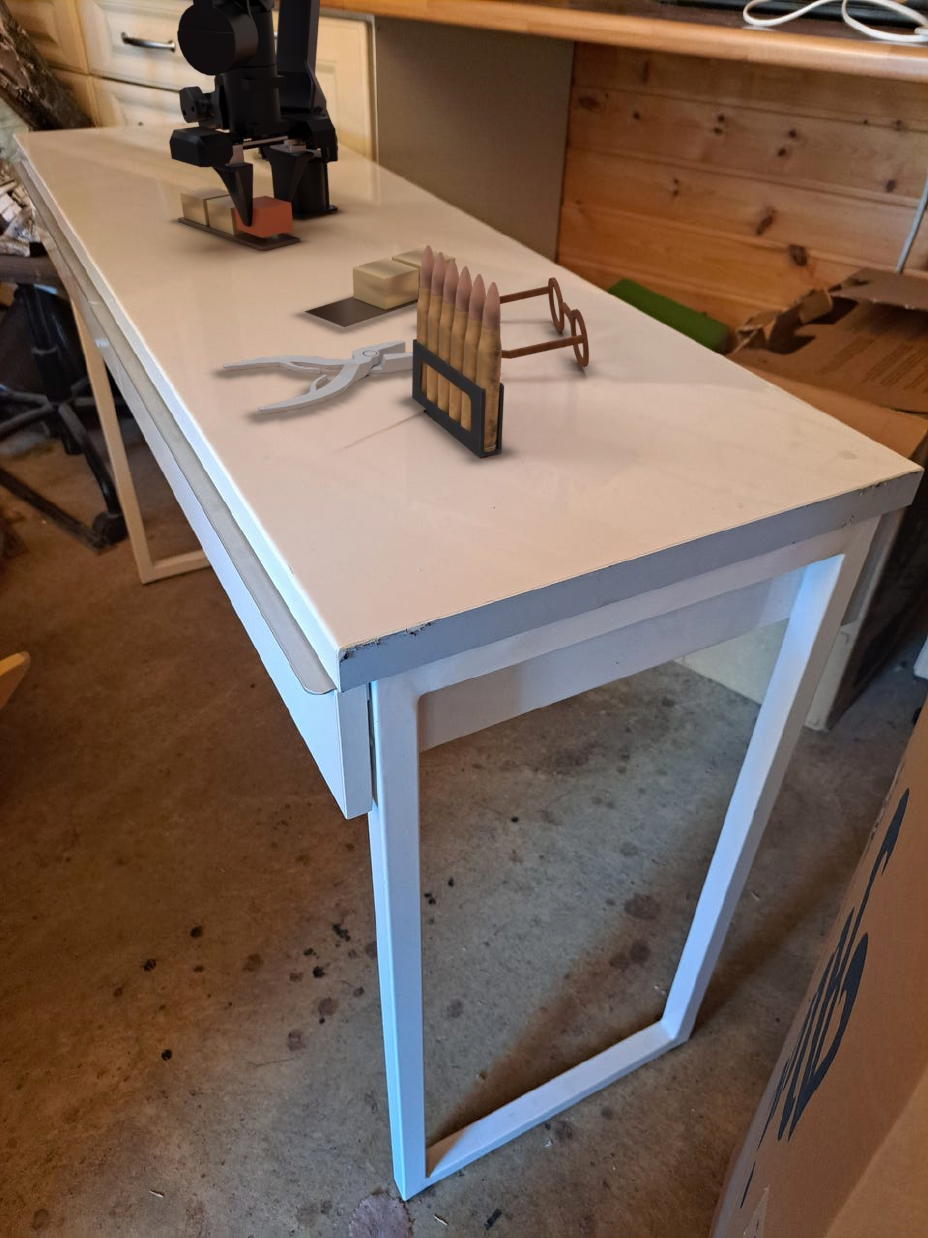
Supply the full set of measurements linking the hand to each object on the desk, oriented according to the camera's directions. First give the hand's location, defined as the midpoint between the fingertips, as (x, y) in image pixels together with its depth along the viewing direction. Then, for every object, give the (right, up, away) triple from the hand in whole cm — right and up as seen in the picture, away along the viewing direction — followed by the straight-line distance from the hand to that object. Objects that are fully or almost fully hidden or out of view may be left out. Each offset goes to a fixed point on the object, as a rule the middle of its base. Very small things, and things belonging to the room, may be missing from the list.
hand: (264, 221), depth 101 cm
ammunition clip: (+22, -31, -34) cm, 52 cm away
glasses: (+26, -22, -23) cm, 41 cm away
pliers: (+12, -26, -29) cm, 41 cm away
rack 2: (+15, -14, -14) cm, 25 cm away
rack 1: (-4, +1, +4) cm, 6 cm away
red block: (0, -1, +1) cm, 1 cm away
